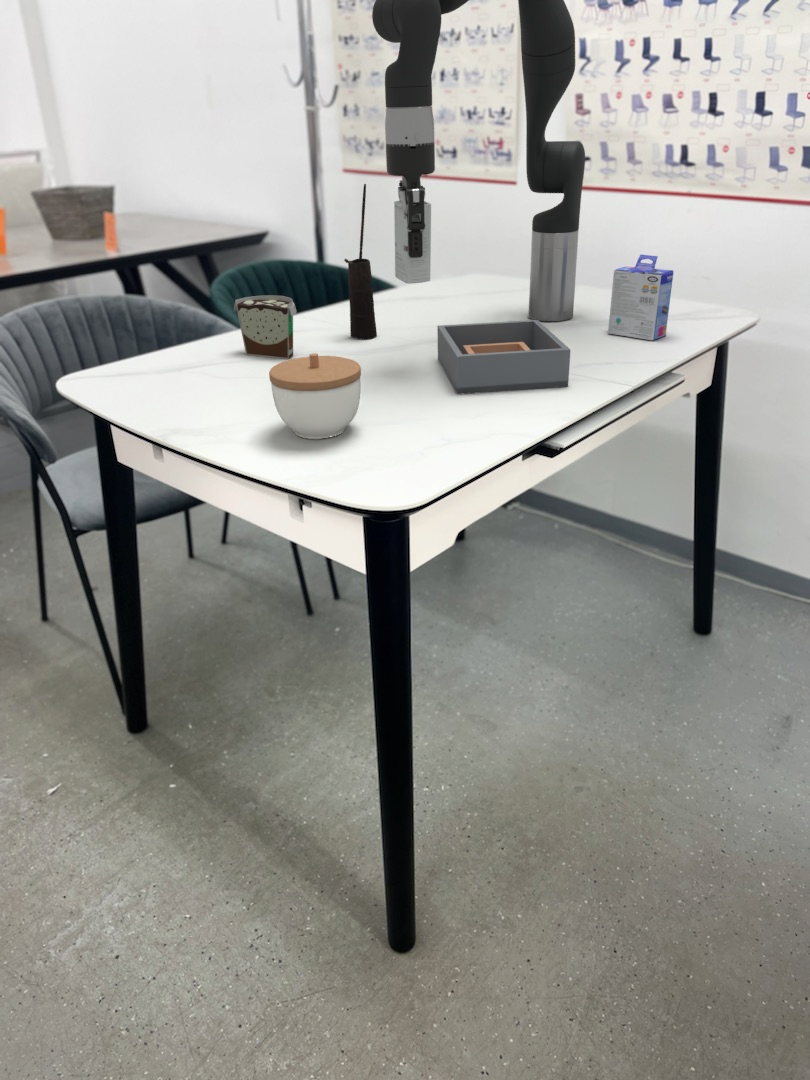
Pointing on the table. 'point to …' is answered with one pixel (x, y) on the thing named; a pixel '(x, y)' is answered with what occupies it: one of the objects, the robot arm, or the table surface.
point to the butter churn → (361, 292)
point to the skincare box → (404, 264)
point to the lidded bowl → (316, 394)
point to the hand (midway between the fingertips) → (413, 252)
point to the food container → (267, 325)
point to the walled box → (502, 356)
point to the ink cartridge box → (640, 300)
